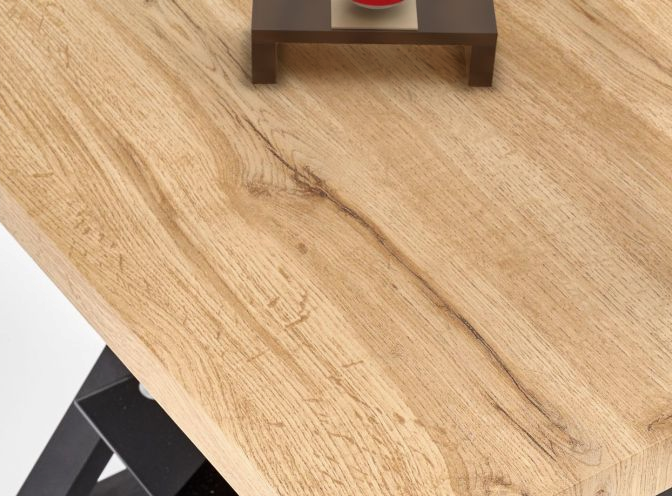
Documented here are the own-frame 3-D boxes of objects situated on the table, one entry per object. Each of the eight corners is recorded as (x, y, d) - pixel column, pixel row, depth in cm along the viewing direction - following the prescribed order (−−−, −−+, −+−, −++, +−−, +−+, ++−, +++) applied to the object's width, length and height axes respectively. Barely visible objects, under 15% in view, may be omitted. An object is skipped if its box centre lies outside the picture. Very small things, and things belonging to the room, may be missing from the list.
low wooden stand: (485, 37, 136) (491, -19, 132) (491, 87, 131) (498, 30, 127) (254, 33, 136) (253, -22, 132) (251, 83, 131) (250, 27, 127)
